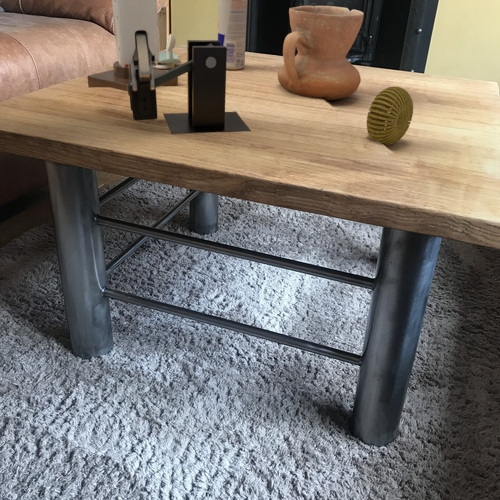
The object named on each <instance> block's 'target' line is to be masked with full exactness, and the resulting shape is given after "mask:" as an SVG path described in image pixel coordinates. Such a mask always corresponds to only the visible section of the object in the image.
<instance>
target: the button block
mask: <svg viewBox="0 0 500 500" xmlns="http://www.w3.org/2000/svg"><path fill="white" fill-rule="evenodd" d="M112 67H113V69H110V70H106V71H101V72H98V73H92V74H89V75H87V88H88V89H89V88H92V89H93V88H111V89H115V90H120V91H124V92H127V86H128V82H130V77H129V66H125V68H123V67H122V66H121V65H120V64H119V61H118V60H116V61H114V63H112ZM167 71H168V70H165V69H158V68H154V67H153V74H154V77H156V76H158V75H160V74H162V73H165V72H167ZM177 86H179V76H178V77H176V78H174V79H172V80H170V81H168V82H166V83H164V84H161V85H159V86H157V87H156V88H161V87H164V88H165V87H177Z"/></svg>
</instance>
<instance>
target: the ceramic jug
mask: <svg viewBox="0 0 500 500" xmlns="http://www.w3.org/2000/svg"><path fill="white" fill-rule="evenodd" d="M288 14H289V25H290V28H291V32H290V33H288V34H287V35H286V36H285V38H284V41H283V45H282V57H283V58H282V59H283V64H282V65H281V66H280V68H279V69H278V72H277V81H278V83H279V85H280V86H281V87H282V88H283V89H284V90H286V91H287V92H289V93H290V94H294V95H297V96H300V97H301V96H302V97H305V98H306V97H307V98H314V99H322V100H323V101H337V100H342V99H345V98H347V97H350V96H352V95H353V94H354V93H355V92H356V91H357V90H358V88H359V86H360V85H361V82H362V78H361V74H360V71H359V70H358V68H356V66H354V65H353V64H352V63H351V62H350V61H349V60H348V58H347V55H348V53H349V51H350V50H351V48H352V46H353V44H354V43H355V41H356V39H357V36H358V33H359V32H360V29H361V27H362V24H363V21H364V15H365V14H364V12H363V11H361V10H357V9H351V10H350V9H349V8H348V7H343V6H342V7H341V6H333V5H332V6H331V5H300V6H296V7H289V10H288ZM296 50H297V53H296Z"/></svg>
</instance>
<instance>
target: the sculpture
mask: <svg viewBox="0 0 500 500" xmlns="http://www.w3.org/2000/svg"><path fill="white" fill-rule="evenodd" d="M413 101H414V100H413V98H412V96H411V94H410V93H409V92H408V91H407V89H405V88H403V87H400V86H389V87H387V88H384V89H383V90H381V91H380V92H379V93H378V94H377V95H376V96H375V98H374V99H373V100H372V102H371V103H370V106H369V109H368V112H367V116H366V130H367V134H368V136H369V138H370V139H371V140H372V141H375V142H378V143H380V144H381V145H382V146H385V147H387V146H392V145H394V144H396V143H398V142H399V141H401V139H402V138H403V137H404V136H405V135H406V134H407V131H408V130H409V128H410V127H411V126H410V125H411V122H412V119H413V116H414V102H413Z"/></svg>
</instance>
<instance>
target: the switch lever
mask: <svg viewBox="0 0 500 500" xmlns="http://www.w3.org/2000/svg"><path fill="white" fill-rule="evenodd" d="M206 46H213V45H212V44H211V43H210V44H208V45H206ZM191 70H192V60H190V61H188V62H187V61H185V62H184V63H180V65H179V64H178V65H177V66H175V67H174V68H170V69H169V70H166V71H167V72H165V73H162V74H160V75H158V76H156V77H154V87H155V88H158V87H157V86H159V85H161V84H164V83H166V82H168V81H170V80H172V79H174V78H176V77H178V78H179V77H181V76H183V75H184V74H186V73H187V74H188V72H189V71H191ZM131 90H133V86H132V80H131V81H130V82H129V83H128V86H127V91H126V92H127V94H128V96H129V99H130V98H131ZM131 99H132V98H131Z"/></svg>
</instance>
